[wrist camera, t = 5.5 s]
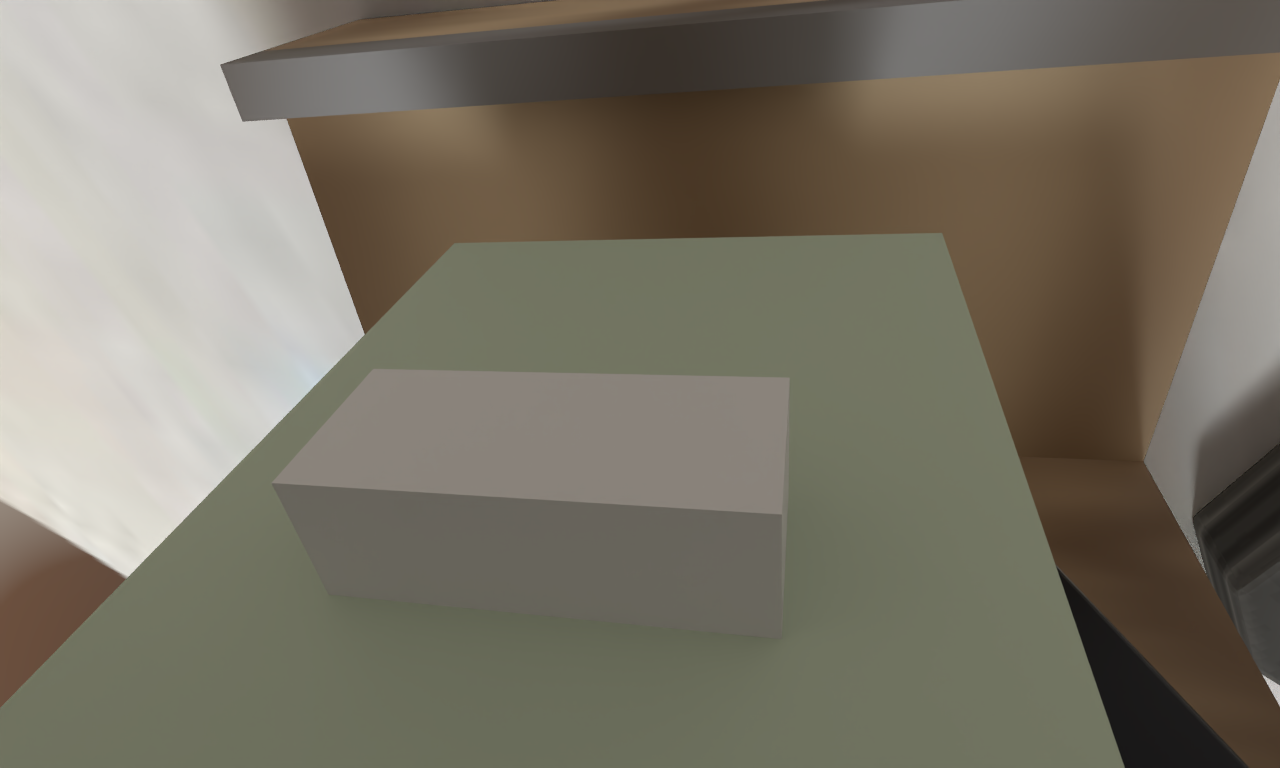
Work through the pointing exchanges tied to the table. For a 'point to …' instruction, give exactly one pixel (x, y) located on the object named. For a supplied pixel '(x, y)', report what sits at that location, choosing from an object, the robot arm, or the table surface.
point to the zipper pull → (1248, 558)
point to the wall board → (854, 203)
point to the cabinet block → (608, 539)
